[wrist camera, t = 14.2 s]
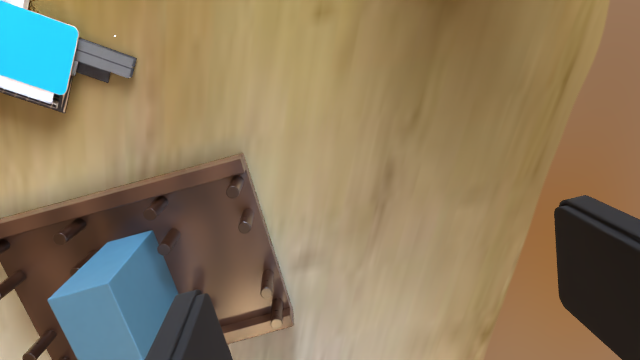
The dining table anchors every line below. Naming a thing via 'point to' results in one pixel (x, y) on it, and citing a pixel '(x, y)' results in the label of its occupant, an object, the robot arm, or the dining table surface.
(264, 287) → the rack
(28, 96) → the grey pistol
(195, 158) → the dining table surface
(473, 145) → the dining table surface
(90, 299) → the carton
